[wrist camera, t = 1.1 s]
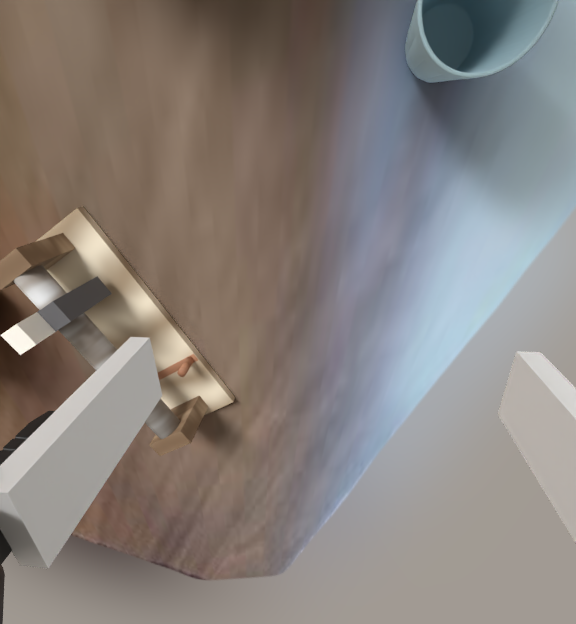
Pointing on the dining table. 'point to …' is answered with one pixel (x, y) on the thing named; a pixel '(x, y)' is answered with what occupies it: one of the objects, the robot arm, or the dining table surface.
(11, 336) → the grey sliding frame
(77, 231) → the pipe rig
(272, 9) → the dining table surface
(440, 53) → the cup
